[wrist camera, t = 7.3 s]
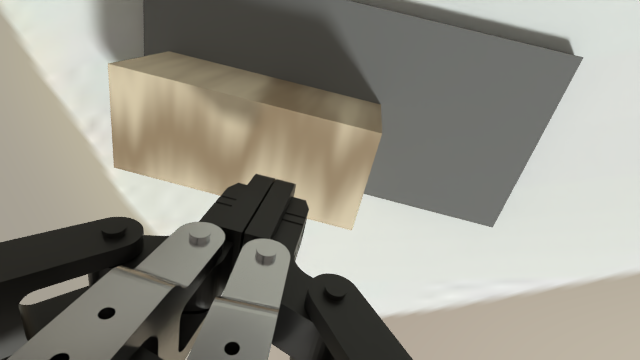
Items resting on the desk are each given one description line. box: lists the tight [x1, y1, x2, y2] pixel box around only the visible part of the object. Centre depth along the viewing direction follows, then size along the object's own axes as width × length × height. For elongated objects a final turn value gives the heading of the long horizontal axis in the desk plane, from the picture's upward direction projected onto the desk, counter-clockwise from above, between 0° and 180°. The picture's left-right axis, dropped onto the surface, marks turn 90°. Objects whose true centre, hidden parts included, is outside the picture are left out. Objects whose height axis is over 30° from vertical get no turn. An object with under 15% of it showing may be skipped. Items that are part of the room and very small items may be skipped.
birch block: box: [108, 51, 382, 230], centre depth 18 cm, size 5×5×12 cm
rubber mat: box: [144, 0, 583, 227], centre depth 20 cm, size 10×22×1 cm, turn 78°
